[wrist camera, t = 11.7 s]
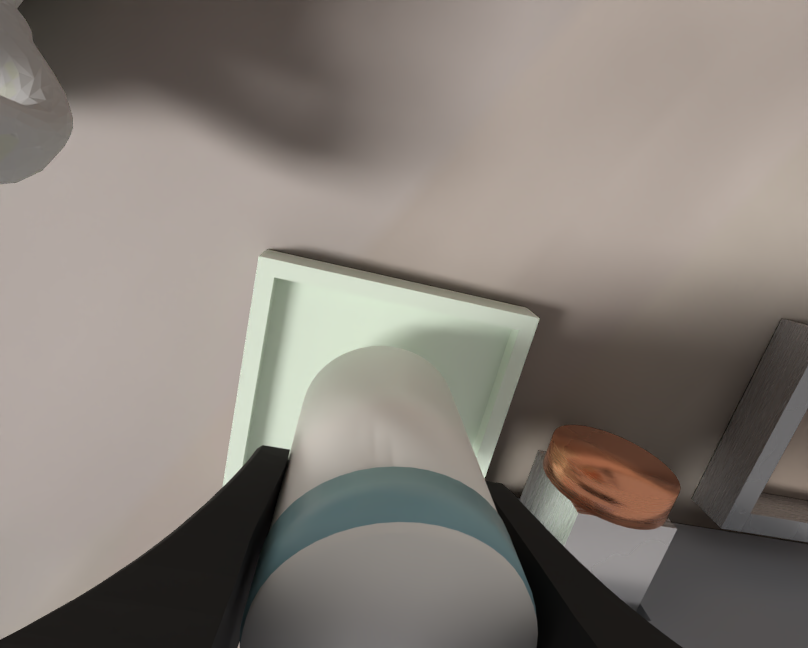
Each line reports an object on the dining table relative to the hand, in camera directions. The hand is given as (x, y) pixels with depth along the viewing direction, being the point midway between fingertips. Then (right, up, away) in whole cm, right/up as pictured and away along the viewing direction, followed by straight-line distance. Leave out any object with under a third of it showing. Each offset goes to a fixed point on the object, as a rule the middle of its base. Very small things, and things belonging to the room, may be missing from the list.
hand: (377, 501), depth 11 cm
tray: (0, +2, +5) cm, 5 cm away
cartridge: (0, +1, +3) cm, 3 cm away
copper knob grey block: (+6, -3, +6) cm, 9 cm away
